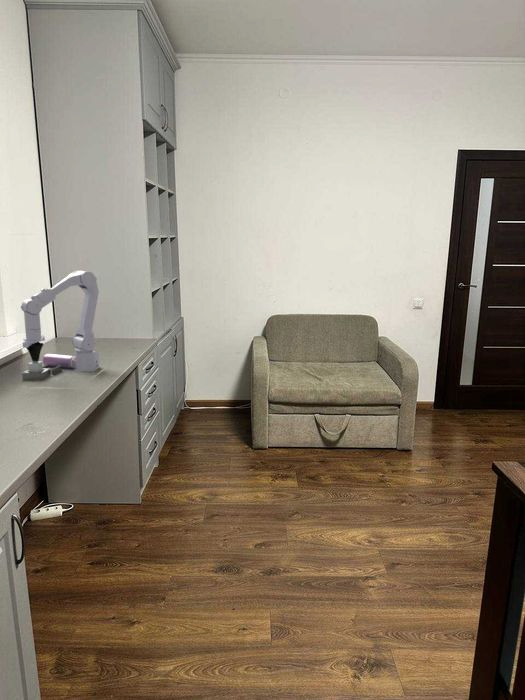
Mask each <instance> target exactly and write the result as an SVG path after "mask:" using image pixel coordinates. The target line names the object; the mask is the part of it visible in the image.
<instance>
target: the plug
mask: <svg viewBox="0 0 525 700" xmlns="http://www.w3.org/2000/svg"><path fill="white" fill-rule="evenodd" d="M43 366H44V365H43V362H42V360H41V361H40V360H39V361H32V360H31V362H28V363H27V367H28V368H27V370H29V372H38V373H40V372H42V371H43Z"/></svg>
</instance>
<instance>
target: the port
mask: <svg viewBox="0 0 525 700" xmlns="http://www.w3.org/2000/svg"><path fill="white" fill-rule="evenodd" d="M50 370H51V367H48V368H43V371H42V372H40V373H38V372H29V370H28V369H27V370H25V371H23V372H22V373H21V377H22V380H23V381H24V380H26V381H43V380H45V379H47V378H48V377H50V376H52V375H51V373H50Z"/></svg>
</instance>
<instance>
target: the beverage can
mask: <svg viewBox="0 0 525 700" xmlns="http://www.w3.org/2000/svg"><path fill="white" fill-rule="evenodd" d="M41 361H42V366H45V365H48V368H55V367H57V366H59V365H61V369H73V370H74V369H76V357H75V355H69V354H68V355H66V354H57V353H56V354H55V353H46V354H44V355H43V356H42V360H41Z"/></svg>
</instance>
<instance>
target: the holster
mask: <svg viewBox="0 0 525 700" xmlns="http://www.w3.org/2000/svg"><path fill="white" fill-rule="evenodd" d="M42 366H43V368H49V367H48V365H45V366H44V365H42ZM61 371H62V368H61V365H59V366H57V367H52V369H50V373H51V375H50V376H54V375H57V374H58V373H60V372H61Z"/></svg>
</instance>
